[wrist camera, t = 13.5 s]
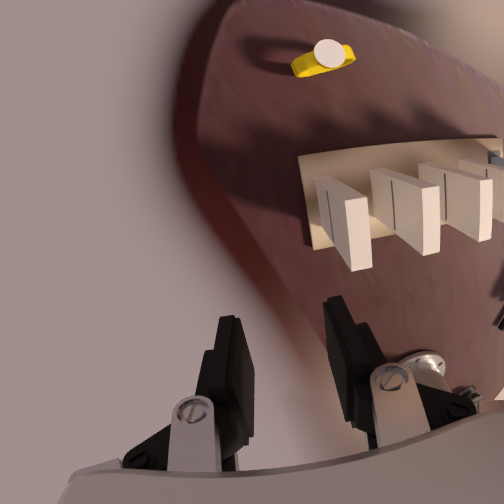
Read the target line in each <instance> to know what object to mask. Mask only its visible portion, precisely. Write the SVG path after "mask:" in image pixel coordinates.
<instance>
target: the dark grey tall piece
mask: <svg viewBox="0 0 504 504" xmlns="http://www.w3.org/2000/svg"><path fill="white" fill-rule="evenodd" d="M474 391H475V387H474V386H469V387H467V388H465V389H464V390H462V391H461V392H460V393H459V394H458V395H462V396H465V397H467V398H469V399H470V400H471V401H473V403H478V402H479V400H483V396H480V395H479V394H477V393H474Z"/></svg>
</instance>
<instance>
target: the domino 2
mask: <svg viewBox="0 0 504 504" xmlns="http://www.w3.org/2000/svg"><path fill="white" fill-rule="evenodd" d="M370 178H371V187H372V196H373V206H374V217H375V218H376V219H377V220H379V221H380V222H381V223H383V224H384V225H385V226H387V227H388V228H389V229H391V230H392V231H393V232H394V233H396V234H397V235H398V236H399V237H401V238H402V239H403V240H405V241H406V242H407V243H408V244H409V245H411V246H412V247H413V248H414V249H416V250H417V251H418V252H419V253H420V254H422V255H423V256H424V255H428V254H433V253H437V252H440V195H439V186H438V185H435V184H432V183H429V182H426V181H423V180H420V179H417V178H414V177H411V176H408V175H405V174H402V173H399V172H395V171H392V170H389V169H385V168H378V169H370Z"/></svg>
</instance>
